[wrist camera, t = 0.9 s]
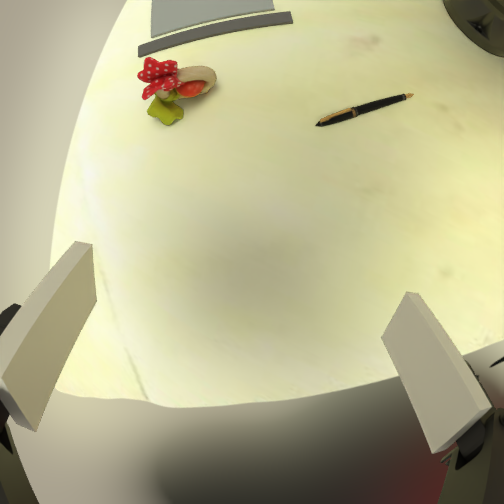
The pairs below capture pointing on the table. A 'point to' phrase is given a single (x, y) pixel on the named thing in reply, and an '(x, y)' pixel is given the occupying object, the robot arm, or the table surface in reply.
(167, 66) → the bird rattle
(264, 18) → the mat
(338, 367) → the table surface
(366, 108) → the fountain pen
